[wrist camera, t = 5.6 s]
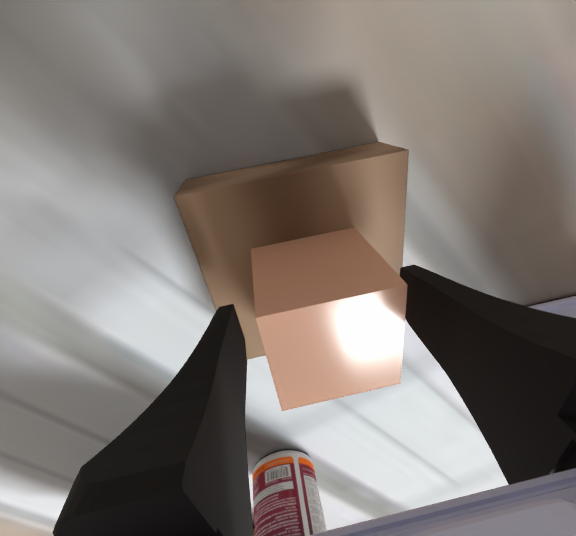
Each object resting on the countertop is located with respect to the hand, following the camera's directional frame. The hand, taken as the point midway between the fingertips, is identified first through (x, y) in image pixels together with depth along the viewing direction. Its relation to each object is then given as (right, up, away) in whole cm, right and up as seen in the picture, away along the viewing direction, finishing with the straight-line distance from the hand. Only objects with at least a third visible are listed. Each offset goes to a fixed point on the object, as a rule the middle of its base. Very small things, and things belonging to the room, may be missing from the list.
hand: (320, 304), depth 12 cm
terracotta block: (0, +1, +3) cm, 3 cm away
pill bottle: (-2, -18, +17) cm, 25 cm away
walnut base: (-1, +3, +5) cm, 6 cm away
